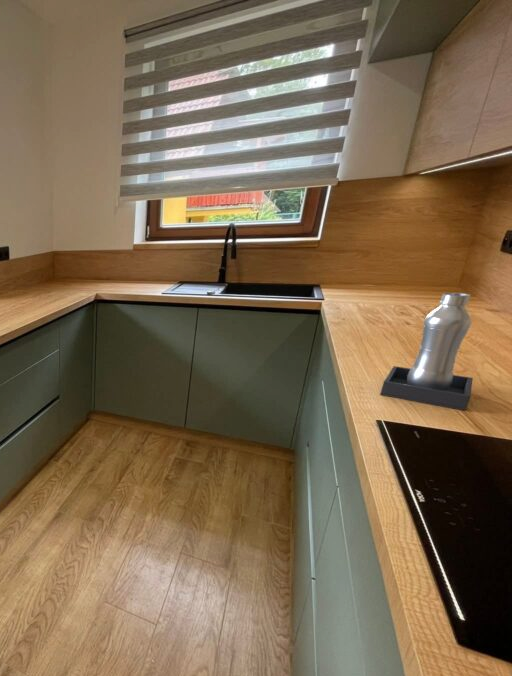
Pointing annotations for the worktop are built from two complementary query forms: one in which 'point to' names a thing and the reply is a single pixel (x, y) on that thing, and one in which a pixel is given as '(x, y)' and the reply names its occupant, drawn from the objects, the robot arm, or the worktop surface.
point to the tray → (428, 390)
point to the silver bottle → (441, 343)
